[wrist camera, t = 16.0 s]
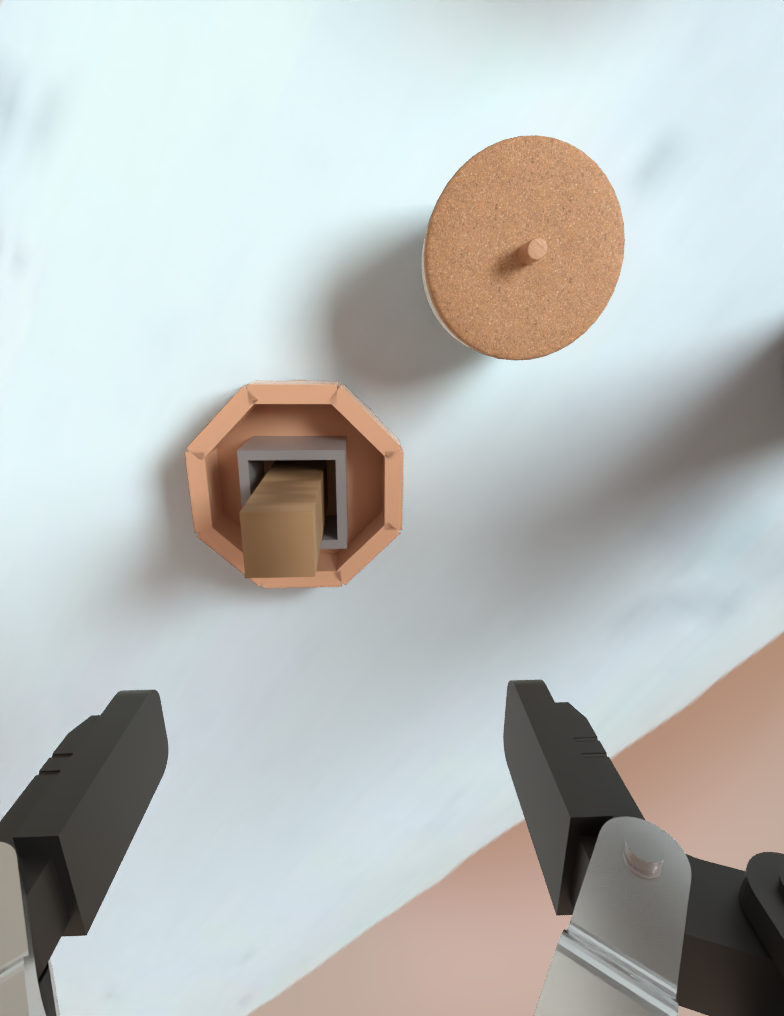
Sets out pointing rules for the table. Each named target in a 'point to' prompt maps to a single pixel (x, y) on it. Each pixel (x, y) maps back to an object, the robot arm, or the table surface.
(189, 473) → the candle pot
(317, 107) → the table surface
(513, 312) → the lidded jar
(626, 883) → the robot arm
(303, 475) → the brown long rectangular block
